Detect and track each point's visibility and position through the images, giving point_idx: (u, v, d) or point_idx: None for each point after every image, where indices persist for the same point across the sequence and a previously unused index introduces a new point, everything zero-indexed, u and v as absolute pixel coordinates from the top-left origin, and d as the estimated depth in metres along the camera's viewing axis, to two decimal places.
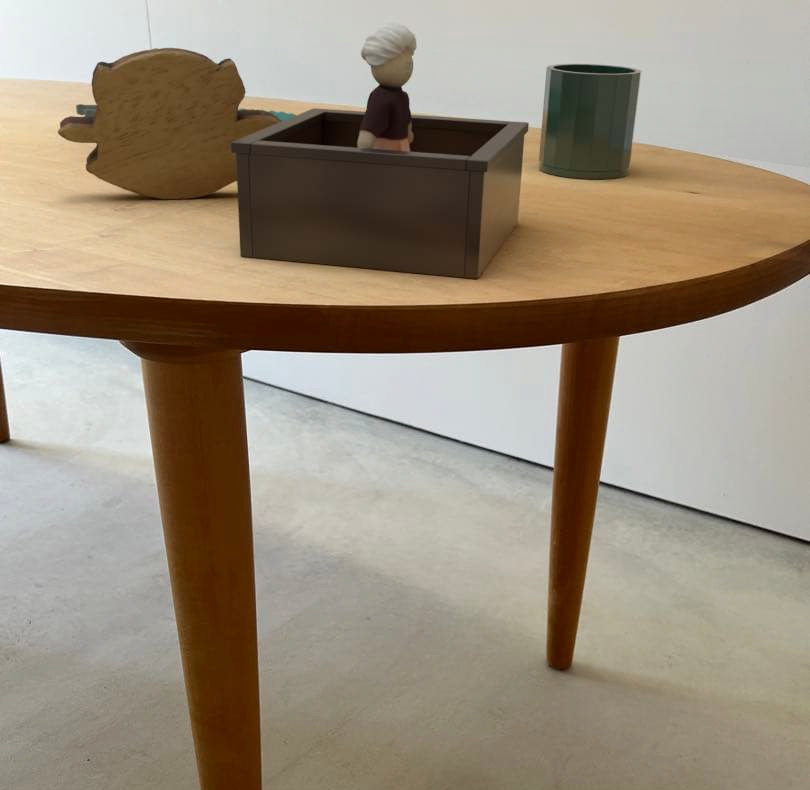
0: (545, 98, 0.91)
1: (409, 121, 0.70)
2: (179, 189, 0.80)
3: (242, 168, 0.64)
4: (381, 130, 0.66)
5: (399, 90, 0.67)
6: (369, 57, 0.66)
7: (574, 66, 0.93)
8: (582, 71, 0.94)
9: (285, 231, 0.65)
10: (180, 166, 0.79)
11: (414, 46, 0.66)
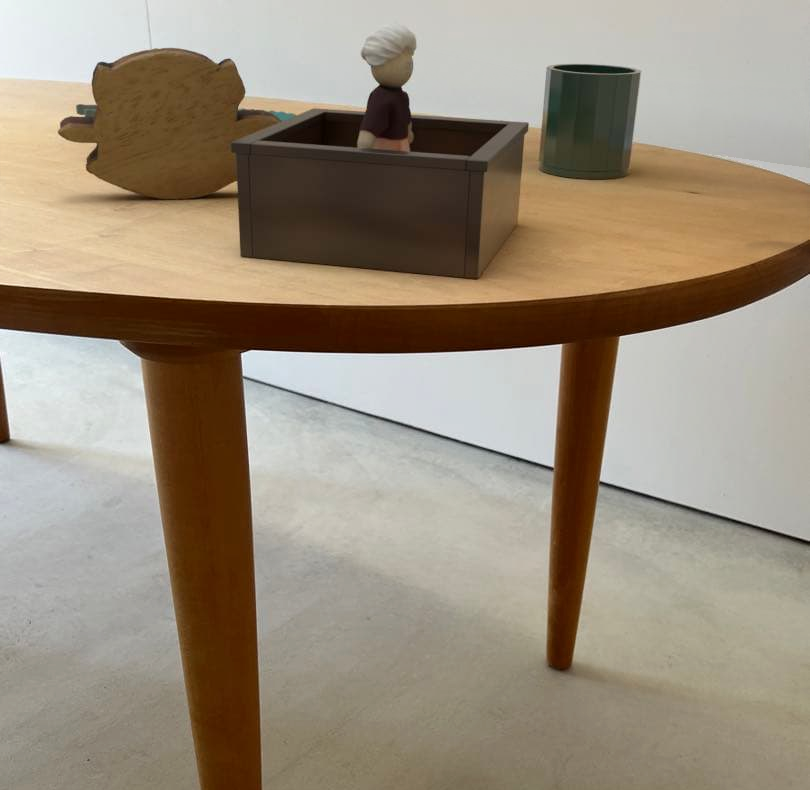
0: (545, 98, 0.91)
1: (409, 121, 0.70)
2: (179, 189, 0.80)
3: (242, 168, 0.64)
4: (381, 130, 0.66)
5: (399, 90, 0.67)
6: (369, 57, 0.66)
7: (574, 66, 0.93)
8: (582, 71, 0.94)
9: (285, 231, 0.65)
10: (180, 166, 0.79)
11: (414, 46, 0.66)
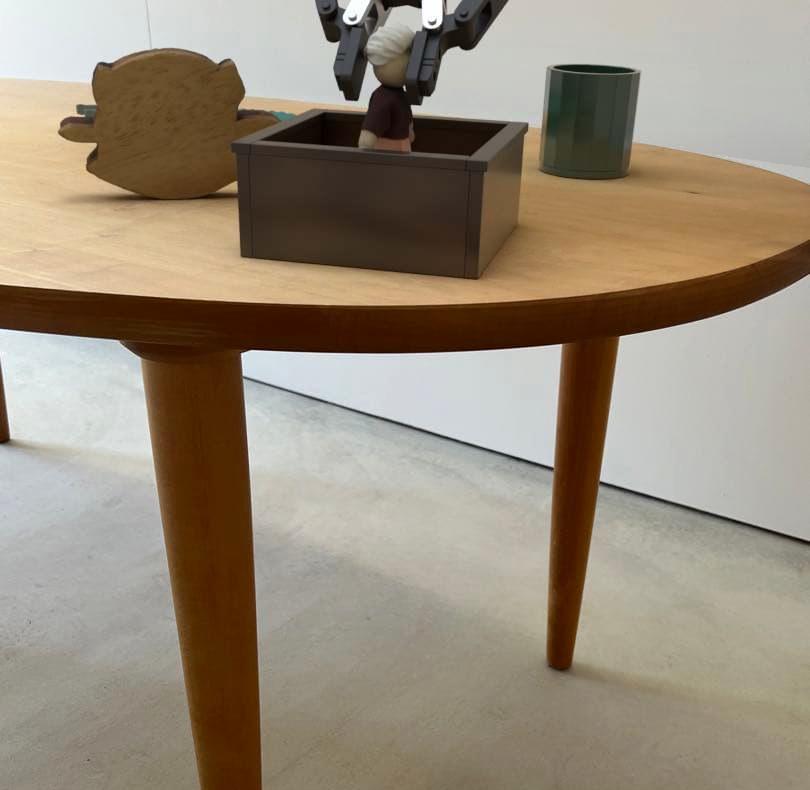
0: (545, 98, 0.91)
1: (410, 121, 0.70)
2: (179, 189, 0.80)
3: (242, 168, 0.64)
4: (382, 130, 0.66)
5: (400, 90, 0.67)
6: (371, 57, 0.65)
7: (574, 66, 0.93)
8: (582, 71, 0.94)
9: (285, 231, 0.65)
10: (180, 166, 0.79)
11: None
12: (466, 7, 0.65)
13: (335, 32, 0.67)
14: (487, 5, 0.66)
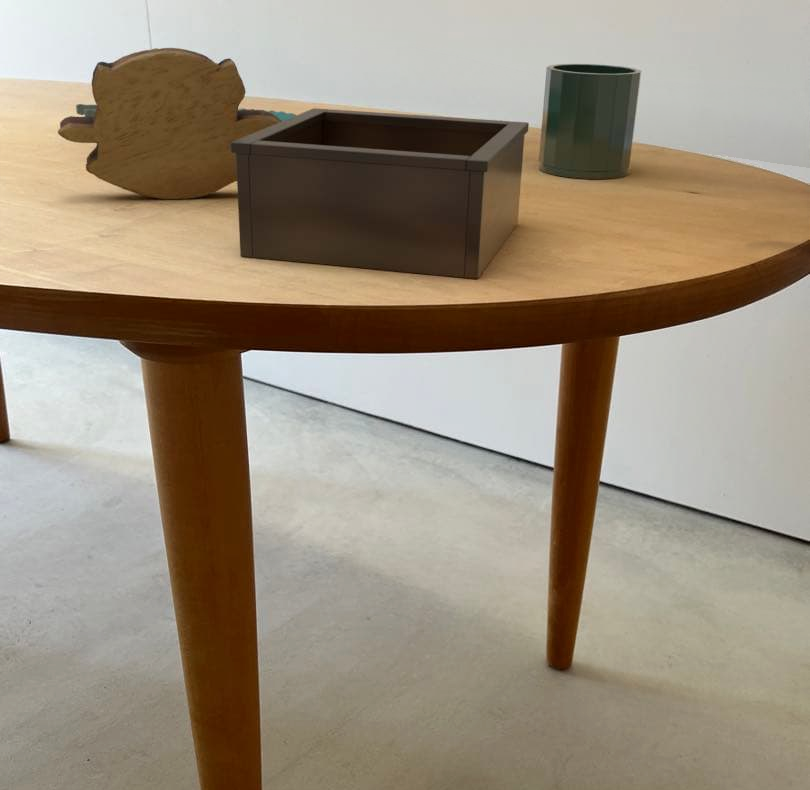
0: (545, 98, 0.91)
1: None
2: (179, 189, 0.80)
3: (242, 168, 0.64)
4: None
5: None
6: None
7: (574, 66, 0.93)
8: (582, 71, 0.94)
9: (285, 231, 0.65)
10: (180, 166, 0.79)
11: None
12: None
13: None
14: None
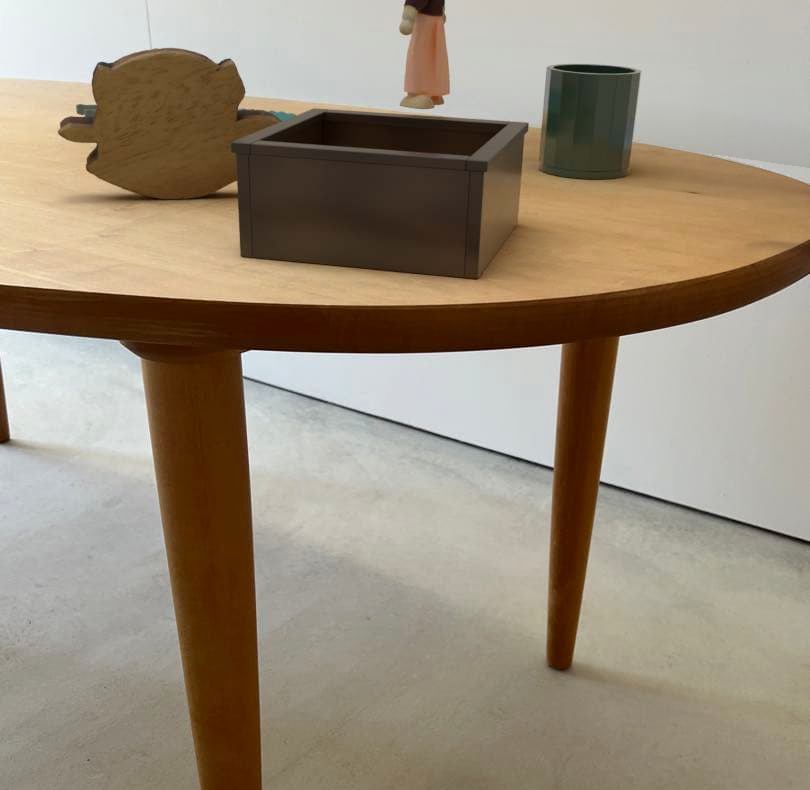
0: (545, 98, 0.91)
1: (443, 4, 0.84)
2: (179, 189, 0.80)
3: (242, 168, 0.64)
4: (422, 6, 0.80)
5: None
6: None
7: (574, 66, 0.93)
8: (582, 71, 0.94)
9: (285, 231, 0.65)
10: (180, 166, 0.79)
11: None
12: None
13: None
14: None
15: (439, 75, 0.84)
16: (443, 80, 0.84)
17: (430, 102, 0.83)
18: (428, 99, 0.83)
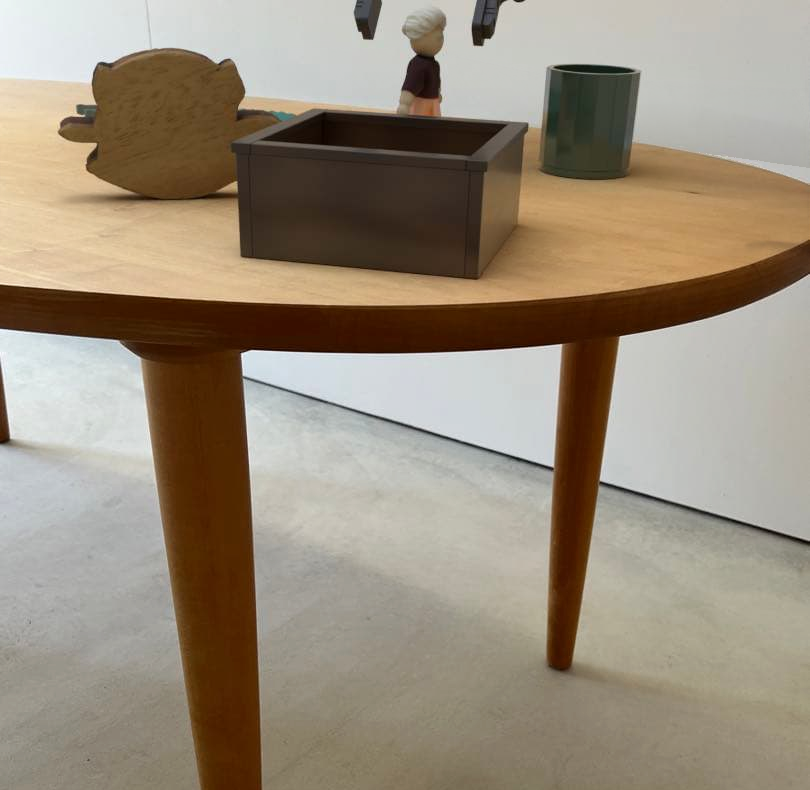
0: (545, 98, 0.91)
1: (439, 85, 0.87)
2: (179, 189, 0.80)
3: (242, 168, 0.64)
4: (418, 90, 0.83)
5: (432, 59, 0.84)
6: (409, 32, 0.82)
7: (574, 66, 0.93)
8: (582, 71, 0.94)
9: (285, 231, 0.65)
10: (180, 166, 0.79)
11: (444, 23, 0.83)
12: None
13: None
14: None
15: None
16: None
17: None
18: None
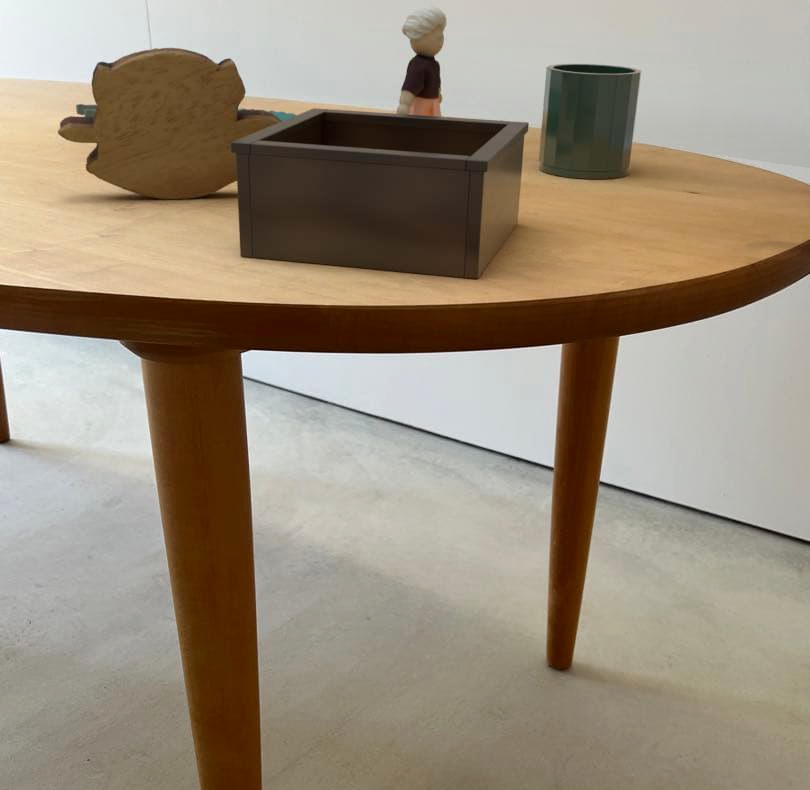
0: (545, 98, 0.91)
1: (439, 85, 0.87)
2: (179, 189, 0.80)
3: (242, 168, 0.64)
4: (418, 90, 0.83)
5: (432, 59, 0.84)
6: (409, 32, 0.82)
7: (574, 66, 0.93)
8: (582, 71, 0.94)
9: (285, 231, 0.65)
10: (180, 166, 0.79)
11: (445, 23, 0.83)
12: None
13: None
14: None
15: None
16: None
17: None
18: None
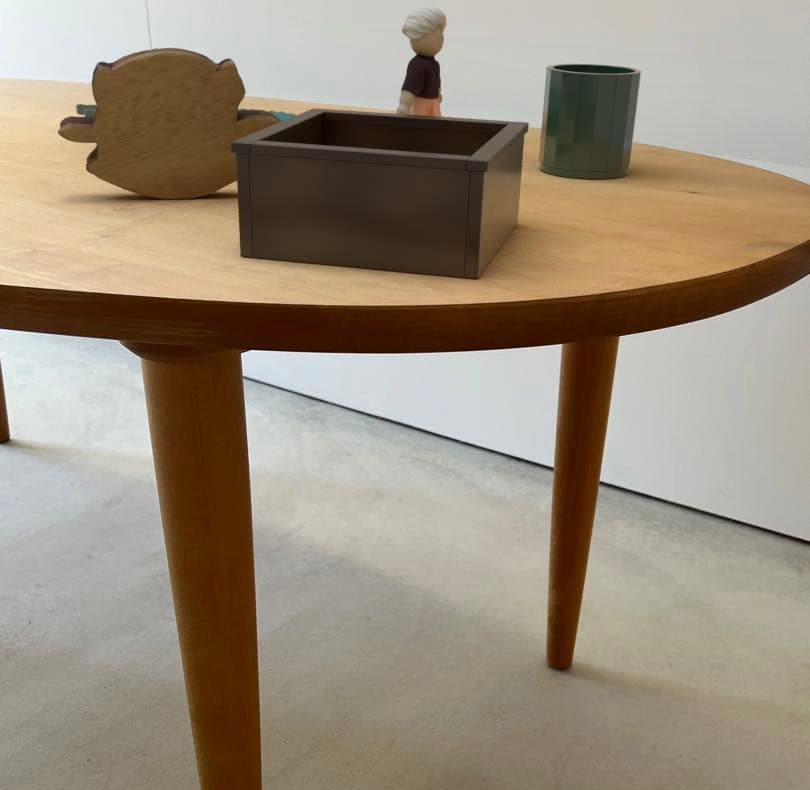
0: (545, 98, 0.91)
1: (439, 85, 0.87)
2: (179, 189, 0.80)
3: (242, 168, 0.64)
4: (418, 90, 0.83)
5: (432, 59, 0.84)
6: (409, 32, 0.82)
7: (574, 66, 0.93)
8: (582, 71, 0.94)
9: (285, 231, 0.65)
10: (180, 166, 0.79)
11: (444, 23, 0.83)
12: None
13: None
14: None
15: None
16: None
17: None
18: None
